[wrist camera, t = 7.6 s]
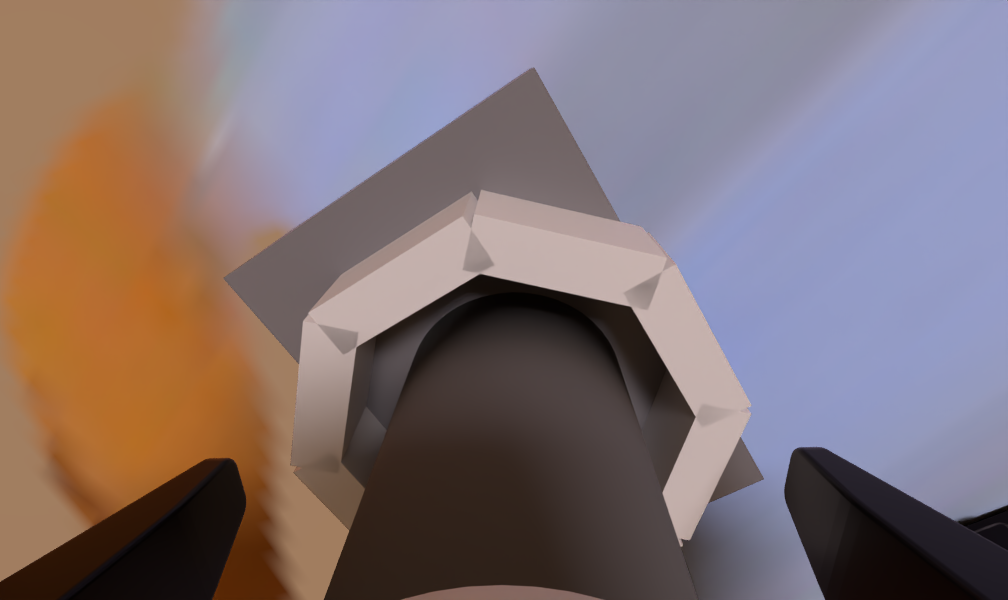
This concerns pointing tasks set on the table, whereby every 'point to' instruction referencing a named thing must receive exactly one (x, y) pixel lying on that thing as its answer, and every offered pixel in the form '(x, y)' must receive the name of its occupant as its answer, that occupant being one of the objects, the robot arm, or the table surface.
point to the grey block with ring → (481, 272)
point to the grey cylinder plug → (513, 471)
